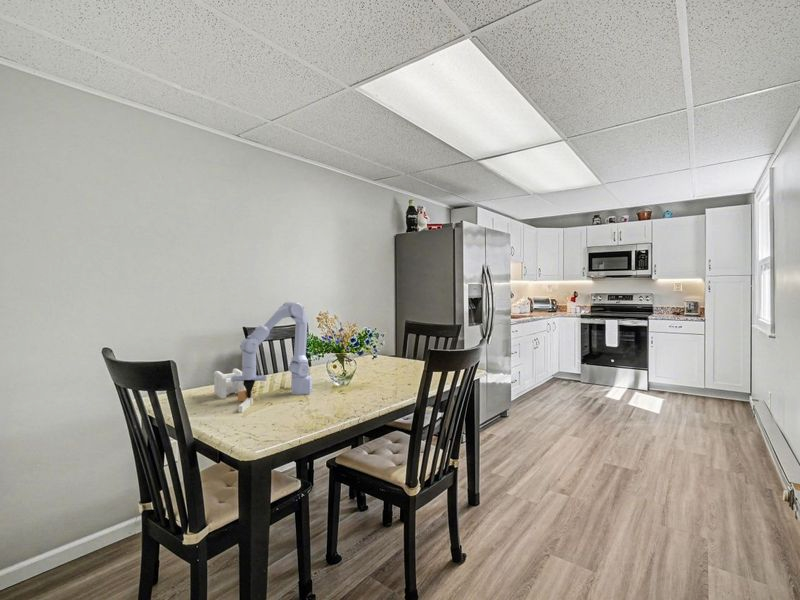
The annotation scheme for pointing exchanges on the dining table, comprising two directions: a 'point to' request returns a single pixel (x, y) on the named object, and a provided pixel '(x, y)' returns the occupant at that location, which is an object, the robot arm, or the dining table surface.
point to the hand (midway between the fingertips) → (249, 397)
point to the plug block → (243, 395)
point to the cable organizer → (227, 383)
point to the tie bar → (245, 404)
